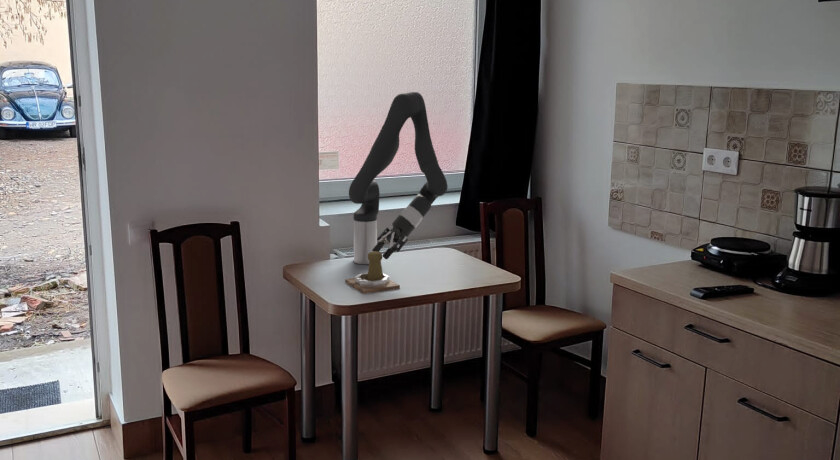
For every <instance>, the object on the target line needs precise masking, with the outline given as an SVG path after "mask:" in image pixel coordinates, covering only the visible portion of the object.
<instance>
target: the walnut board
mask: <svg viewBox="0 0 840 460" xmlns="http://www.w3.org/2000/svg"><path fill="white" fill-rule="evenodd" d="M344 280H345V281H344V282H345V283H346V284H347V285H349V286H350V287H353V288H354V289H355V290H357V291H359V292H360V293H361V294H364V295H365V294H372V293H378V292H384V291H385V292H386V291H390V290H391V291H393V290H398V289H400V288H401V286H400V284H399V283H396V282H395V281H393V280H392V279H389V282H388V283H387V284H386V285H384V286H377V287H367V286H360V285H358V284H356V283H355V277H351V278H345V279H344ZM364 280H367V279H364Z"/></svg>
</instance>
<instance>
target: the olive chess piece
mask: <svg viewBox="0 0 840 460" xmlns="http://www.w3.org/2000/svg"><path fill="white" fill-rule="evenodd" d="M382 259H383V254H382V252H380V251H379V252H378V251H373V252H370V253H369V254H368V260H369V264H368V271H367V273H368V277H367V280H372V281H374V280H381V279H383V273H384V272H383V268H382Z"/></svg>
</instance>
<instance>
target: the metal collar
mask: <svg viewBox="0 0 840 460" xmlns="http://www.w3.org/2000/svg"><path fill="white" fill-rule="evenodd" d="M382 273H383V279H381V280H374V281H372V280H364V279H367V277H368V272H364V273H358V274H357V275H356V276H355V277H354V278H355V283H356V284H358V285H360V286H367V287H377V286H384V285H386V284H387V283H388V282H389V280H390V275H387V274H386V273H384V272H382Z"/></svg>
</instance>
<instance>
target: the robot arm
mask: <svg viewBox="0 0 840 460" xmlns="http://www.w3.org/2000/svg"><path fill="white" fill-rule="evenodd" d="M409 119H411V121H412V124H413V128H414V138H415V139H414V154H415V157H416V160H417V164H418V166H419V170H420V172H421V173H422V174H424V176H425V179H426V181H425V183H424V184H423V185H422V187H421V188H420V190H419V192H418V193H417V194H416V196H415V197H414V198H413V199H412V200H411V201H410V202H409V204H408V205H407V206H406V207H404V209H403V210H402V211H401V212H400V214H399V215H397V217H396V218H395V219H394V220H393V222H392V223H391V225H392V228H391V229H390V228H389V227H386V228H385V229H384V230H383V231H382V232H381V233H380V235H379V236H378V215H379V211H380V209H379V208H380V188H379V184H378V182H377V181H376V180H375V179H376V178H377V177H378V176H379V175H380V174H381V173H383V171H385V170H386V169H387V168H388V167H389V166H390V164H391V163H392V162H393V161H394V159H395V157H396V154H397V153H398V152H399V151H398V150H399V147H400V132H401V130H403V129H402V128H403V127H404V125H405V123H406V122H407V121H408V120H409ZM437 157H438V156H437V155H436V152H435V149H434V145H433V142H432V137H431V133H430V126H429V121H428V115H427V108H426V103H425V100H424V97H423V95H422V94H421V93H420V92H419V91H415V90H412V91H405V92H401V93H399V94H397V95H396V96H395V97H394V98H393V99H392V102H391V105H390V107H389V110H388V112H387V115H386V117H385V120H384V122H383V125H382V127H381V128H380V131H379V132H378V135H377V137H376V139H375V141H374V142H373V144H372V145H371V148H370V151H369V153H368V154H367V157H366V158H365V160H364V162H363V164H362V165H361V168H360V169H359V171H358V173H357V174H356V175H355V177H354V179H352V181H351V183H350V185H349V188H348V197H349V200H350V201H351V202H352V203H354V204H357V205H359V204H360V206H359V208H358V209H357V210H355V212H354V213H353V262H354V263H355V264H359V265H369V260H368V254H369V253H370V252H373V251H378V252H380V251H381V249H383V247H384V246H386V245H389V247H388V248H387V249H386V250H385V251H384V253H383V254H382V258H384V259H385V260H388V259H389V258H390V257H391V256H392V255H393V254H394V253H395V252H397V253H399V252H400V250H401V249H402V248H403V247H404V245H406V243H407V242H408V241H409V239H408V238H409V236H410V235H411V234H412V233H413V231H414V230H415V229H416V228H417V227H418V226H419V224H420V223H421V222H422V220H423V218H425V217H426V215H427V214H428V212H429V211H431V208H432V205H433V203H434V202H435V200H437V198H439V197H441V196H443V195H445V194H446V193H447V191H448V181H447V178H446V176H445V174H444V172H443V170H442V168H441V167H440V165H439V160H438V158H437Z"/></svg>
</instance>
